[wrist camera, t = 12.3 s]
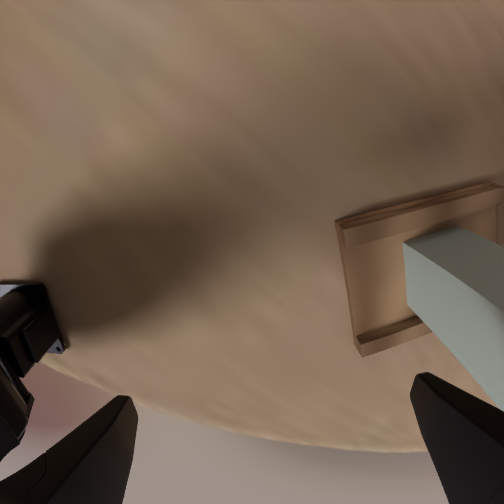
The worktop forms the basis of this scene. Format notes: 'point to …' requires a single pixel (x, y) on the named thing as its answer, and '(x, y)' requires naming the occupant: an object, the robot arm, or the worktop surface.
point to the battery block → (461, 299)
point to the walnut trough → (402, 259)
